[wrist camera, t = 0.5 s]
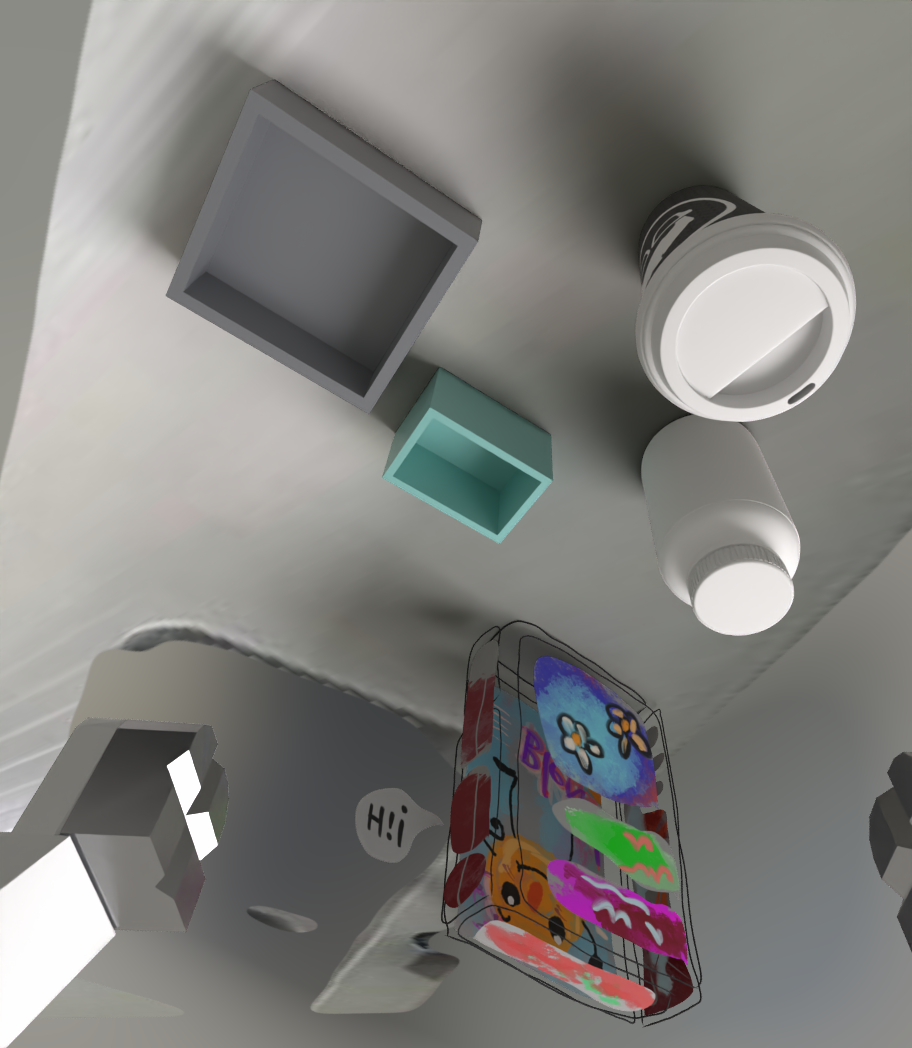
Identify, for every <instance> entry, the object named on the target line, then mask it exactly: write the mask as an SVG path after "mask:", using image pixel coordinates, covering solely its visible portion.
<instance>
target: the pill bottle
mask: <svg viewBox="0 0 912 1048" xmlns="http://www.w3.org/2000/svg"><path fill="white" fill-rule="evenodd" d="M641 477H642V483H643V489H644V494H645V499H646V504H647V509H648V514H649V520H650V525H651V530H652V535H653V540H654V545H655V551H656V556H657V561H658V566H659V570H660V573H661V575H662V578H663V580H664V581H665V583H666V585H667V586H668V587H669V588H670V590H671V591H672V592H673V593H674V594H675V595H676V596H677V597H678V598H680V599H681V600H682V601H684V602H685V603H687V604H689V605H691V606H692V608H693V611H694V613H695V615H696V617H697V618H698V619H699V620H700V622H701V623H703V624H704V625H705V626H707V627H708V628H710V629H712V630H714V631H716V632H719V633H723V634H727V635H748V634H753V633H757V632H760V631H762V630H765V629H767V628H769V627H771V626H772V625H774V624H775V623H777V622H778V621H779V620H780V619H781V618H782V617H783V616H784V615H785V614H786V613H787V611H788V610H789V608H790V606H791V603H792V601H793V598H794V596H793V595H794V586H793V582H792V580H791V579H792V577H793V575H794V573H795V571H796V569H797V566H798V562H799V557H800V540H799V536H798V532H797V530H796V527H795V525H794V523H793V520H792V518H791V516H790V514H789V512H788V509H787V507H786V505H785V503H784V501H783V498H782V496H781V494H780V492H779V490H778V487H777V485H776V483H775V481H774V479H773V476H772V474H771V472H770V470H769V468H768V465H767V463H766V461H765V459H764V457H763V455H762V452H761V450H760V448H759V446H758V444H757V442H756V440H755V439H754V437H753V436H752V434H751V433H750V432H749V431H748V430H747V429H746V428H745V427H744V426H743V425H742V424H740V423H739V422H732V421H721V420H713V419H708V418H704V417H701V416H698V415H695V414H694V415H689V416H686V417H683V418H680V419H678V420H675V421H673V422H672V423H670V424H668V425H667V426H665V427H664V428H663V429H661V430H660V431H659V432H658V433H657V434H656V435H655V436H654V437H653V439H652V440H651V441H650V443H649V444H648V446H647V448H646V450H645V453H644V456H643V459H642V466H641Z"/></svg>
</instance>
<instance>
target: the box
mask: <svg viewBox="0 0 912 1048" xmlns="http://www.w3.org/2000/svg"><path fill="white" fill-rule="evenodd" d="M514 622H523V623H527V622H524V621H514ZM514 622H511V623H509V624H508V625H510V624H512V623H514ZM527 624H531V623H527ZM508 625H506V626H508ZM531 625H533V626H536V625H534V624H531ZM506 626H504V627H503V628H502V629H504V628H505V627H506ZM495 627H498V626H494V627H492V628H491V629H493V628H495ZM536 627H537V628H539V627H538V626H536ZM498 628H499V627H498ZM491 629H489V630H488V631H490V630H491ZM502 629H500V628H499V630H500V631H499V632H500V633H499V632H498V633H499V640H498V643H497V641H495V640H493V641H492V639H493V638H494V637H495V636H496V635H497V634H498V633H497V634H496V635H495V636H494V637H493V638H492V639H491V640H490V642H488V643H486V644H485V645H484V646H482V647H481V648H480V650H479V651H478V652H477V654H476V655H475V657H474V659H473V662H472V665H471V670H470V676H469V680H468V668H469V661H470V656H471V652H472V649H473V647H474V645H475V644H476V642H477V641H478V640H479V639H480V638H481V637H482V636H483V635H484V634H486V633H487V632H488V631H487V632H485V633H484V634H483V635H481V636H480V637H479V639H478V640H477V641H476V642H475V643H474V645H473V647H472V649H471V652H470V656H469V661H468V668H467V680H466V693H467V700H466V693H465V705H464V724H463V733H462V735H463V736H462V735H461V737H462V745H461V746H462V751H461V769H462V776H461V783H460V785H459V786H458V788H457V790H456V792H455V794H454V788H455V770H456V758H457V747H458V743H459V741H460V739H461V737H460V738H459V740H458V743H457V746H456V756H455V767H454V787H453V800H452V806H451V821H450V823H451V824H450V830H449V836H448V843H447V858H446V869H445V879H444V893H443V904H442V912H441V921H442V923H444V924H446V926H447V936H448V933H449V928H448V924H449V923H451V922H452V921H454V920H455V919H456V920H455V927H456V929H457V930H458V931H457V932H458V935H459V936H460V937H461V938H462V939H464V940H466V941H467V942H465V941H462V940H459V939H456V938H454V937H451V936H448V937H450V938H452V939H455V940H458V941H461V942H464V943H467V944H470V945H472V946H474V947H476V948H477V949H479V950H481V951H483V952H485V953H486V954H488V955H490V956H492V957H494V958H496V959H497V960H499V961H501V962H503V963H505V964H507V965H509V966H511V967H513V968H514V969H516V970H518V971H520V972H521V973H523V974H525V975H526V976H528V977H530V978H532V979H533V980H535V981H537V982H538V983H540V984H542V985H543V986H545V987H547V988H549V989H551V990H553V991H555V992H557V993H559V994H561V995H563V996H565V997H567V998H569V999H571V1000H574V1001H576V1002H579V1003H581V1004H583V1005H585V1006H588V1007H591V1008H594V1009H597V1010H600V1011H602V1012H605V1013H606V1014H609V1015H611V1016H614V1017H616V1018H619V1019H622V1020H625V1021H627V1022H629V1023H632V1024H634V1023H635V1019H639V1018H642V1023H643V1018H644V1017H648V1016H654V1015H659V1014H662V1013H665V1011H667V1009H669V1008H671V1007H673V1006H675V1005H677V1004H679V1003H681V1002H683V1001H684V1000H686V999H687V998H688V997H689V996H690V995H691V994H692V992H693V988H695V987H693V984H692V980H691V977H690V974H689V972H688V969H687V967H686V965H685V963H686V964H688V963H687V945H688V951H689V956H690V960H691V964H692V967H693V970H694V973H695V976H696V979H697V982H698V987H699V991H700V984H701V981H702V973H701V968H700V963H699V958H698V953H697V949H696V944H695V939H694V934H693V928H692V922H691V914H690V904H689V894H688V884H687V877H686V869H685V863H684V859H683V853H682V849H681V844H680V839H679V820H678V807H677V801H676V795H675V789H674V783H673V778H672V772H671V766H670V761H669V755H668V749H667V744H666V738H665V732H664V727H663V721H662V717H661V710H660V709H657V710H656V711H658V710H660V717H661V721H662V727H663V733H664V738H665V744H666V749H667V755H668V761H669V767H670V772H671V778H672V783H673V790H674V795H675V801H676V808H677V820H678V829H677V824H676V817H675V809H674V800H673V793H672V787H671V781H670V774H669V768H668V762H667V756H666V751H665V746H664V741H663V735H662V730H661V725H660V722H659V720H658V718H657V716H656V714H655V713H654V712H656V711H654V712H653V711H652V710H651V709H650V708H649V707H648V706H647V705H646V702H645V701H644V699H643V698H641V696H640V695H639V694H637V693H636V692H635V691H634V690H632V689H631V688H629V687H628V686H626V685H624V684H622V683H620V682H619V681H617V680H616V679H615V678H613V677H612V676H611V675H610V674H609V673H607V672H606V671H605V670H604V669H602V668H601V667H600V666H598V665H597V664H596V663H594V662H592V661H591V660H589V659H587V658H585V657H583V656H582V655H580V654H579V653H577V652H576V651H575V650H573V649H572V648H570V647H569V646H567V645H566V644H564V643H562V642H560V641H558V640H556V639H554V638H552V637H551V636H549V635H548V634H547V633H546V632H545V631H543V630H542V629H541V628H539V629H540V630H542V631H543V632H544V633H545V634H546V635H548V636H549V637H550V638H552V639H554V640H556V641H558V642H560V643H562V644H564V645H565V646H567V647H569V648H570V649H572V650H573V651H574V652H576V653H577V654H579V655H580V656H582V657H583V658H585V659H587V660H588V661H590V662H592V663H594V664H595V665H597V666H598V667H599V668H601V669H602V670H603V671H604V672H606V673H607V674H608V675H609V676H611V677H612V678H613V679H614V680H616V681H617V682H618V683H620V684H622V685H624V686H626V687H627V688H629V689H630V690H632V691H633V692H635V693H636V694H637V695H638V696H639V697H640V698H641V699H642V700H643V701H644V702H645V704H644V703H642V702H640V701H639V700H637V699H636V698H634V697H633V696H632V695H630V694H629V693H628V692H626V691H625V690H624V689H622V688H621V687H620V686H618V685H616V684H615V683H613V682H612V681H610V680H609V679H607V678H605V677H603V676H602V675H600V674H598V673H597V672H595V671H594V670H592V669H591V668H589V667H588V666H587V665H585V664H584V663H582V662H581V661H579V660H578V659H576V658H575V657H573V656H572V655H570V654H569V653H567V652H565V651H564V650H562V649H560V648H558V647H556V646H554V645H551V644H549V643H547V642H545V641H543V640H541V639H539V638H537V637H534V636H529V635H527V636H523V637H533V638H536V639H539V640H541V641H543V642H545V643H547V644H549V645H551V646H553V647H555V648H558V649H560V650H561V651H563V652H565V653H567V654H568V655H570V656H571V657H573V658H574V659H576V660H577V661H579V662H580V663H582V664H583V665H585V666H586V667H588V668H589V669H591V670H592V671H593V672H595V673H597V674H598V675H600V676H601V677H603V678H605V679H607V680H608V681H610V682H611V683H613V684H615V685H616V686H618V687H619V688H621V689H622V690H623V691H625V692H626V693H627V694H629V695H630V696H631V697H633V698H634V699H635V700H637V701H639V702H640V703H642V704H644V705H645V706H646V707H648V708H649V709H650V710H651V711H652V712H653V713H654V715H655V716H656V718H657V720H658V722H659V726H660V730H661V736H662V741H663V747H664V751H665V757H666V762H667V768H668V774H669V782H670V788H671V793H672V801H673V810H674V818H675V825H676V830H677V835H678V841H679V858H680V866H681V857H680V850H681V854H682V859H683V864H684V870H685V878H686V887H687V896H688V907H689V915H690V923H691V929H692V935H693V941H694V945H695V950H696V955H697V960H698V964H699V969H700V983H699V981H698V978H697V975H696V972H695V969H694V966H693V962H692V959H691V954H690V949H689V944H688V937H687V929H686V921H685V915H684V907H683V888H682V887H683V886H682V885H683V880H682V866H681V880H682V881H681V893H682V909H683V916H684V923H685V931H686V936H685V931H684V927H683V924H682V921H681V919H680V917H679V916H678V915H677V914H676V913H675V912H674V911H673V910H672V909H671V906H670V901H669V893H675V894H676V896H677V898H678V900H679V899H680V887H679V880H678V874H677V869H676V864H675V860H674V856H673V853H672V850H671V848H670V846H669V836H668V830H667V816H666V812H665V811H664V810H656V811H654V812H650V813H645V814H642V812H641V810H640V807H651V806H655V807H656V808H657V809H658V800H657V796H658V795H659V794H660V793H661V792H662V790H663V783H662V782H661V781H658V782H656V779H655V771H656V770H657V769H658V768H659V767H660V765H661V763H662V761H663V759H664V753H661V754H659V755H657V756H656V757H654V758H653V757H652V752H651V749H650V748H652V747H653V746H654V745H655V743H656V741H657V738H658V729H657V727H655V726H654V727H651V728H650V729H649V730H647V731H646V730H645V726H644V723H645V722H646V721H647V720H648V719H649V718H650V716H651V715H652V714H653V713H652V714H651V715H650V716H649V717H648V718H647V719H646V721H645V722H644V723H643V721H642V719H641V718H640V716H639V715H638V714H639V713H640V712H641V711H642V710H643V709H642V710H641V711H640V712H639V713H636V712H635V711H634V710H633V709H632V708H631V707H630V706H629V705H628V704H627V703H626V702H624V701H623V700H622V699H621V698H620V697H619V696H618V695H617V694H616V693H614V692H613V691H612V690H611V689H609V688H608V687H606V686H605V685H604V684H602V683H601V682H599V681H598V680H596V679H595V678H593V677H592V676H590V675H589V674H588V673H586V672H584V671H583V670H581V669H579V668H577V667H575V666H573V665H571V664H569V663H566V662H564V661H562V660H560V659H557V658H554V657H549V656H544V657H540V658H538V659H537V661H536V663H535V666H534V686H533V685H532V684H530V683H528V682H527V681H525V680H524V679H522V678H521V677H520V676H519V662H520V642H521V639H522V638H523V637H522V638H521V639H520V642H519V661H518V669H517V674H516V673H515V672H513V671H512V670H511V669H509V668H508V667H506V666H505V665H503V664H502V663H501V662H499V661H498V652H499V641H500V634H501V630H502ZM498 662H499V663H500V664H502V665H503V666H505V667H506V668H507V669H509V670H510V671H512V672H513V673H514V674H516V675H517V677H518V691H517V690H516V689H514V688H513V687H511V686H510V685H508V684H507V683H506V682H504V681H503V680H501V679H500V678H499V669H498ZM496 667H497V671H498V677H497V676H496ZM495 676H496V677H497V678H498V683H499V688H498V687H496V686H494V685H495ZM519 678H521V679H522V680H523V681H525V682H526V683H528V684H530V685H531V686H533V687H534V688H535V694H536V700H537V703H536V702H534V701H532V700H530V699H529V698H528V697H526V696H525V695H523V694H522V693H520V692H519ZM499 679H500V680H501V681H502V682H504V683H505V684H507V685H508V686H510V687H511V688H513V689H514V690H515V691H517V692H518V699H517V698H516V697H514V696H512V695H511V694H509V693H507V692H506V691H504V690H502V689H500V681H499ZM467 681H468V682H469V683H468V682H467ZM519 693H520V694H522V695H523V696H525V697H526V698H527V699H529V700H530V701H532V702H533V703H536V704H537V705H538V710H539V712H537V711H536V710H534V709H533V708H531V707H530V706H528V705H527V704H525V703H524V702H522V701H521V700H520V699H519ZM465 707H466V708H465ZM646 707H645V708H646ZM645 708H644V709H645ZM465 766H467V772H466V776H465V778H464V779H463V780H462V778H463V768H464V767H465ZM600 795H602V796H604V797H606V798H609V799H611V800H614V801H615V804H616V801H617V802H619V808H620V803H624V815H625V822H622V816H621V808H620V816H621V821H620V820H618V818H617V804H616V818H617V819H615V818H613V817H612V816H610V815H609V814H607V813H606V812H604V811H603V810H602V807H601V796H600ZM355 823H356V830H357V834H358V837H359V839H360V842H361V844H362V846H363V847H364V849H365V851H366V852H367V853H368V854H369V855H371V856H372V857H374V858H376V859H379V860H382V861H385V862H392V863H393V862H399V861H400V860H402V859H403V858H404V857H405V856H406V855H407V854H408V852H409V849H410V847H411V844H412V842H413V839H414V837H415V836H416V835H417V834H418V832H420V831H422V830H424V829H426V828H428V827H430V826H433V825H443V823H442V821H441V820H440V819H439V817H438V816H436V815H435V814H433V813H431V812H429V811H426V810H424V809H422V808H420V807H419V806H418V805H417V804H416V803H415V802H414V801H413V800H412V799H411V798H410V797H409V796H408V795H407V794H406V793H405V792H404V791H402V790H401V789H397V788H387V789H380V790H376V791H373V792H371V793H369V794H367V795H366V796H364V797H363V799H361V801H360V802H359V804H358V806H357V809H356V816H355ZM443 826H444V825H443ZM450 832H451V845H452V850H453V852H455V853H457V856H456V864H455V867H454V869H453V870H452V872H451V873H450V875H449V877H448V879H447V882H446V872H447V862H448V846H449V838H450ZM458 854H460V862H459V863H458V864H457V859H458ZM603 854H605V855H606V856H607V857H608V858H609V859H610V860H612V861H613V862H614V863H615V864H616V865H617V866H618V867H619V868H620V876H621V869H622V870H623V871H624V872H625V873H626V874H627V886H628V875H629V876H630V877H631V878H632V882H633V890H634V892H632V891H630V890H629V887H627V888H628V889H626V888H624V887H622V877H621V886H620V885H618V884H615V883H613V882H611V881H609V880H607V879H605V877H604V856H603ZM445 883H446V885H445ZM444 900H445V903H444ZM446 904H447V905H448V906H449V907H452V908H456V907H458V906H459V909H458V914H457V916H456V917H455V918H454V919H452V920H451V921H450V922H448V923H447V921H446V916H445V905H446ZM443 907H444V918H445V922H443ZM611 932H612V933H614V934H616V935H618V936H620V937H622V938H623V947H624V957H623V956H621V955H619V954H617V953H615V952H613V948H612V939H611V938H612V937H611ZM459 933H460V934H459ZM462 936H467V937H472V938H474V939H477V940H478V941H479V942H481V943H482V944H485V945H486V946H488V947H490V948H493V949H495V950H497V951H499V952H501V953H503V954H505V955H507V956H509V957H511V958H513V959H514V960H516V961H518V962H519V963H521V964H523V965H525V966H526V967H529V968H530V969H532V970H534V971H536V972H537V973H539V974H541V975H542V976H544V977H546V978H548V979H549V980H551V981H553V982H555V983H557V984H559V985H561V986H563V987H565V988H567V989H569V990H571V991H574V992H576V993H578V994H580V995H582V996H585V997H588V998H592V999H595V1000H597V1001H598V1002H600V1003H602V1004H604V1005H606V1006H609V1007H611V1008H614V1009H618V1010H623V1011H633V1013H634V1017H630V1016H626V1015H621V1014H618V1013H613V1012H610V1011H606V1010H602V1009H599V1008H596V1007H592V1006H590V1005H587V1004H584V1003H582V1002H580V1001H578V1000H576V999H574V998H572V997H571V996H569V995H567V994H566V993H564V992H562V991H560V990H559V989H557V988H555V987H553V986H551V985H549V984H547V983H546V982H544V981H542V980H540V979H538V978H535V977H533V976H531V975H528V974H526V973H524V972H523V971H521V970H519V969H517V968H516V967H515V966H513V965H511V964H509V963H508V962H506V961H504V960H502V959H500V958H499V957H497V956H495V955H493V954H491V953H490V952H488V951H486V950H484V949H483V948H481V947H479V946H478V945H476V944H474V943H472V942H471V941H469V940H467V939H465V938H464V937H462ZM624 938H625V939H627V940H629V941H631V942H633V947H634V944H637V945H638V946H640V947H642V949H643V961H644V965H642V964H640V963H638V962H637V957H636V952H635V947H634V953H635V958H636V962H635V961H633V960H630V959H628V958H626V957H625V944H624ZM686 939H687V944H686ZM468 942H469V943H468ZM613 954H615V955H618V956H620V957H622V958H624V959H625V965H626V959H627V960H629V961H631V962H634V963H636V964H637V968H638V976H636V975H634V974H632V973H629V972H628V971H627V965H626V971H625V970H622V969H620V968H617V967H615V961H614V956H613ZM684 962H685V963H684ZM638 965H640V966H643V967H644V979H643V978H641V977H640V974H639V966H638ZM616 969H618V970H620V971H623V972H626V973H627V979H628V980H627V979H625V978H622V977H620V976H618V975H617V972H616ZM628 974H630V975H633V976H635V977H637V978H639V984H637V983H635V982H632V981H630V980H629V977H628ZM640 979H641V980H643V981H644V986H641V985H640ZM538 980H539V981H538ZM540 981H541V982H543V983H545V984H546V985H545V984H543V983H541V982H540ZM547 985H548V986H550V987H552V988H554V989H556V990H558V991H560V992H561V993H560V992H558V991H556V990H554V989H552V988H550V987H548V986H547ZM562 993H563V994H562ZM564 994H565V995H564ZM701 998H702V996H701V991H700V1001H699V1002H698V1003H696V1004H694V1005H692V1006H691V1007H689V1008H688V1009H686V1010H683V1011H681V1012H680V1013H678V1014H676V1015H673V1016H672V1017H669V1018H666V1019H663V1020H660V1021H658V1022H654V1023H651V1024H649V1025H646V1026H650V1025H653V1024H656V1023H659V1022H662V1021H665V1020H668V1019H671V1018H673V1017H675V1016H677V1015H679V1014H681V1013H683V1012H685V1011H687V1010H689V1009H690V1008H692V1007H694V1006H695V1005H697V1004H699V1003H700V1002H701ZM642 1009H644V1010H645V1015H646V1016H642ZM637 1010H641V1017H635V1012H634V1011H637ZM662 1010H664V1011H663V1012H661V1013H657V1012H659V1011H662ZM607 1012H608V1013H607ZM610 1013H612V1014H616V1015H620V1016H624V1017H628V1018H632V1019H634V1022H630V1021H628V1020H626V1019H624V1018H620V1017H617V1016H615V1015H612V1014H610ZM653 1013H657V1014H653ZM650 1014H651V1015H650ZM646 1026H645V1027H646Z"/></svg>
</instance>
